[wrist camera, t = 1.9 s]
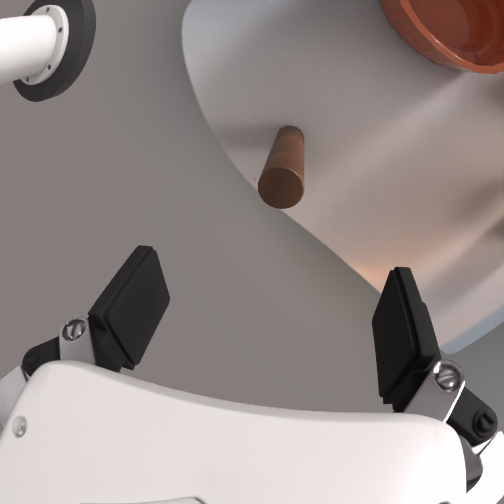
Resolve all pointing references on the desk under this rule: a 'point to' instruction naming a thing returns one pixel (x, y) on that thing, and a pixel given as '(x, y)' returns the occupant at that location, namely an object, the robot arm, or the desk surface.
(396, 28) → the mixing bowl
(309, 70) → the desk surface
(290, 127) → the stick
